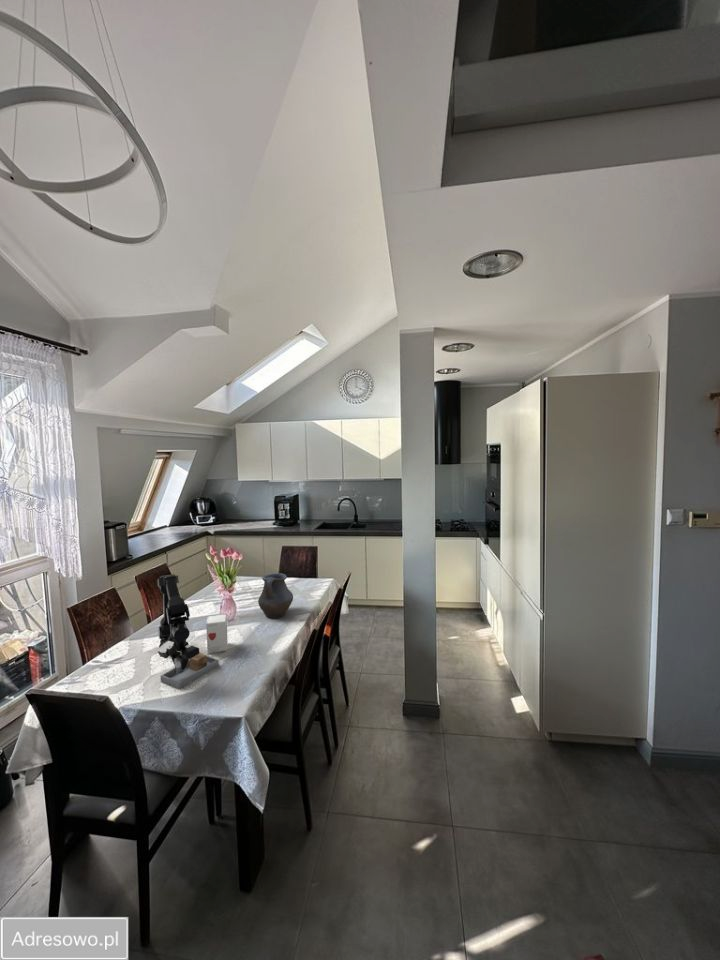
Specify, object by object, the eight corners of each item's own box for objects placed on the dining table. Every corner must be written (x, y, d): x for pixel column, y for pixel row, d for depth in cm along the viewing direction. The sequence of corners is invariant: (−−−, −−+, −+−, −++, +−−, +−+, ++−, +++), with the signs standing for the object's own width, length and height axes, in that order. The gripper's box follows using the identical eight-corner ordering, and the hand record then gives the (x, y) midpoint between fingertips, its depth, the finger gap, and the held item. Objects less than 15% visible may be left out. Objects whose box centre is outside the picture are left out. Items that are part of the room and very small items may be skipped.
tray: (200, 659, 181) (200, 653, 180) (218, 665, 175) (218, 659, 175) (160, 681, 163) (160, 675, 163) (179, 689, 157) (179, 682, 157)
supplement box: (206, 654, 185) (205, 623, 184) (208, 645, 194) (207, 616, 193) (227, 651, 188) (225, 621, 187) (228, 642, 196) (226, 613, 195)
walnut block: (199, 663, 176) (198, 652, 176) (206, 665, 174) (206, 655, 173) (189, 668, 171) (189, 657, 171) (197, 671, 169) (197, 660, 169)
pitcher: (297, 608, 238) (296, 568, 237) (287, 623, 217) (286, 580, 215) (265, 608, 240) (263, 568, 239) (252, 623, 219) (250, 579, 217)
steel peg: (172, 672, 164) (172, 658, 163) (181, 667, 167) (180, 653, 167) (179, 674, 162) (178, 660, 161) (187, 669, 165) (186, 656, 165)
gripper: (146, 635, 161) (148, 672, 162) (175, 645, 152) (177, 684, 153) (170, 625, 170) (172, 659, 172) (199, 633, 162) (201, 670, 163)
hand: (180, 668), depth 164 cm, fingers closed on steel peg, 4 cm apart
